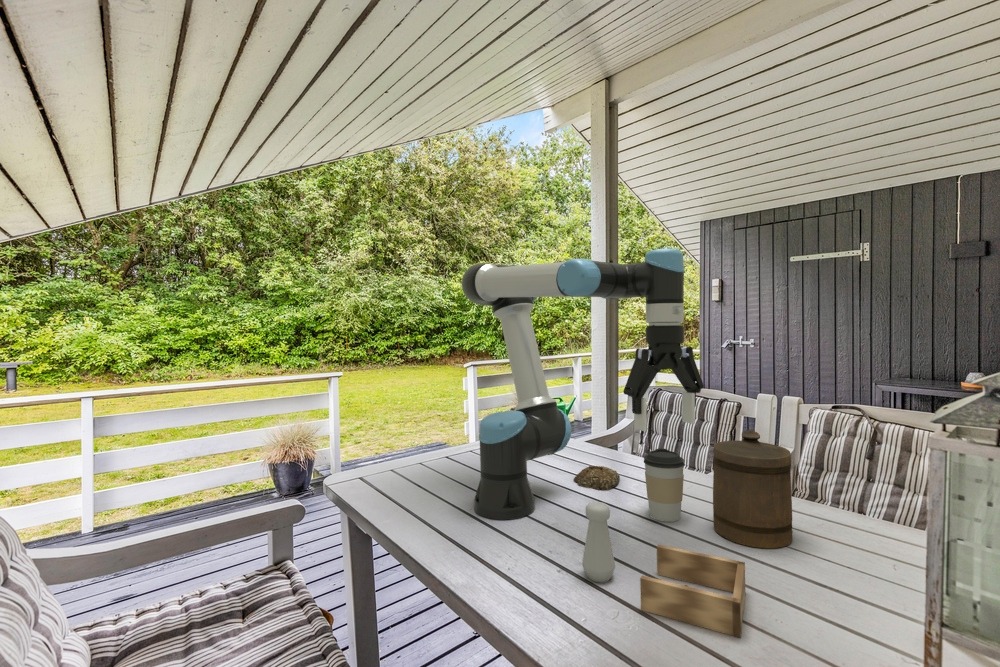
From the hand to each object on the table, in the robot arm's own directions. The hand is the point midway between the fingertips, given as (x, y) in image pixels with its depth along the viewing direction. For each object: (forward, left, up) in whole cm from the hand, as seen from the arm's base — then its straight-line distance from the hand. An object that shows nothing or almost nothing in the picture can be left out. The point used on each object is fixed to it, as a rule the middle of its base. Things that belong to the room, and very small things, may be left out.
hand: (665, 426), depth 97 cm
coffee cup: (-3, +12, -24) cm, 27 cm away
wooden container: (+15, +11, -24) cm, 30 cm away
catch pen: (+8, -21, -24) cm, 33 cm away
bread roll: (-25, +28, -24) cm, 45 cm away
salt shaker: (-8, -21, -24) cm, 33 cm away
